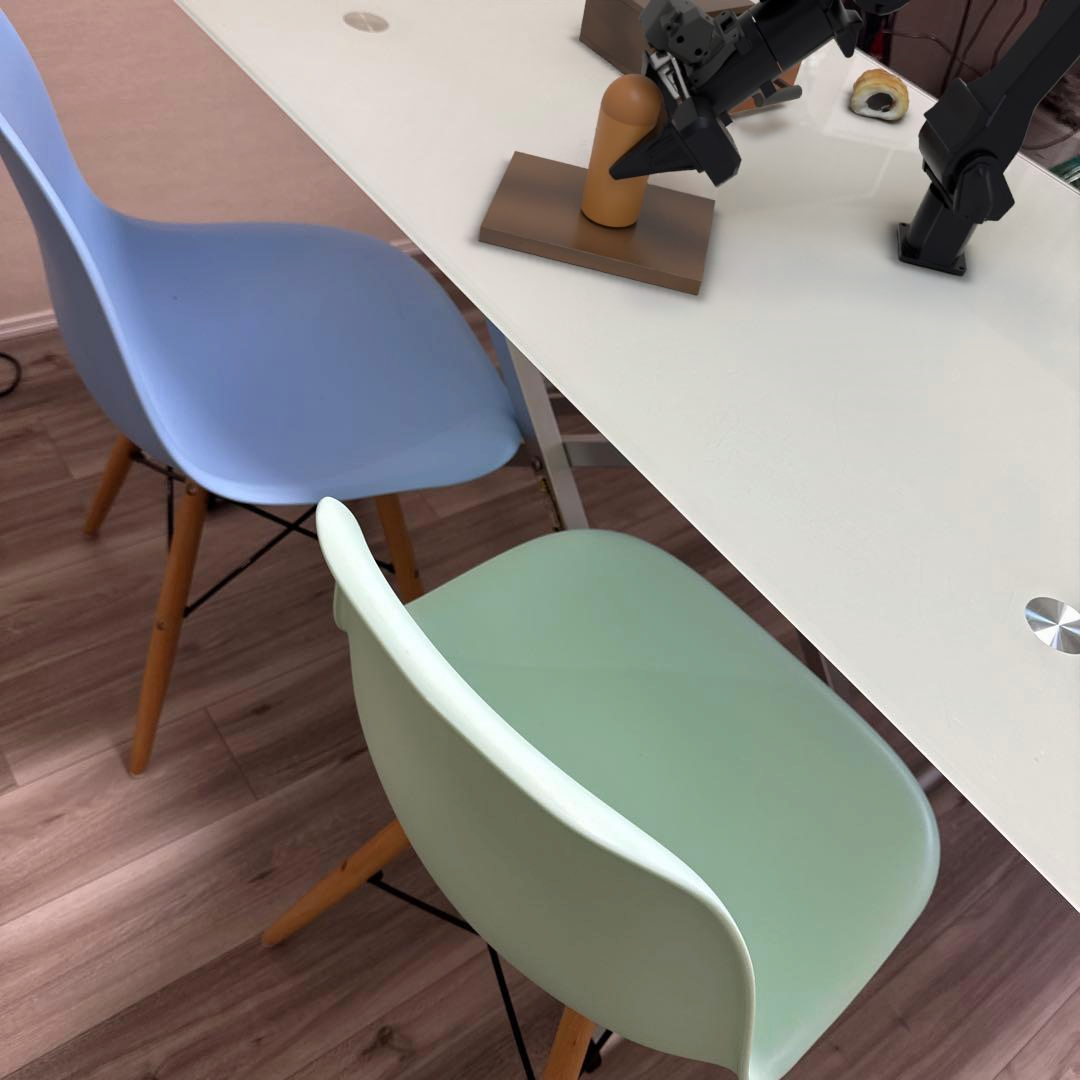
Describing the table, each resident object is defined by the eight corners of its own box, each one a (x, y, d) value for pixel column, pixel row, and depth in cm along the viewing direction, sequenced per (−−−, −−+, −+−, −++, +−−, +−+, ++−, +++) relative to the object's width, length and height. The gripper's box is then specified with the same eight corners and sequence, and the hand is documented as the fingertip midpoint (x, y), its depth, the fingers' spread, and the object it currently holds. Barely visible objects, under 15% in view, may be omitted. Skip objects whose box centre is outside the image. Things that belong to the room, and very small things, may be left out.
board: (697, 295, 87) (702, 281, 85) (478, 240, 87) (480, 225, 86) (711, 213, 96) (715, 199, 95) (512, 164, 96) (514, 150, 95)
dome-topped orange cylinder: (650, 214, 90) (684, 82, 81) (614, 234, 87) (645, 99, 78) (605, 187, 92) (633, 56, 83) (569, 206, 89) (593, 72, 80)
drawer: (814, 118, 110) (833, 66, 106) (728, 139, 104) (745, 85, 100) (722, 55, 117) (737, 4, 113) (637, 71, 111) (649, 18, 107)
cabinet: (736, 70, 117) (756, 4, 112) (644, 89, 111) (660, 19, 105) (670, 24, 123) (685, -41, 117) (578, 39, 116) (590, -29, 111)
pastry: (850, 79, 120) (863, 48, 118) (904, 94, 120) (918, 63, 117) (846, 112, 114) (859, 80, 111) (902, 128, 114) (917, 96, 111)
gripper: (694, -89, 80) (541, 36, 86) (745, 10, 68) (564, 146, 75) (756, 22, 87) (611, 129, 94) (812, 129, 75) (641, 243, 82)
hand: (606, 157), depth 86 cm, fingers closed on dome-topped orange cylinder, 5 cm apart
